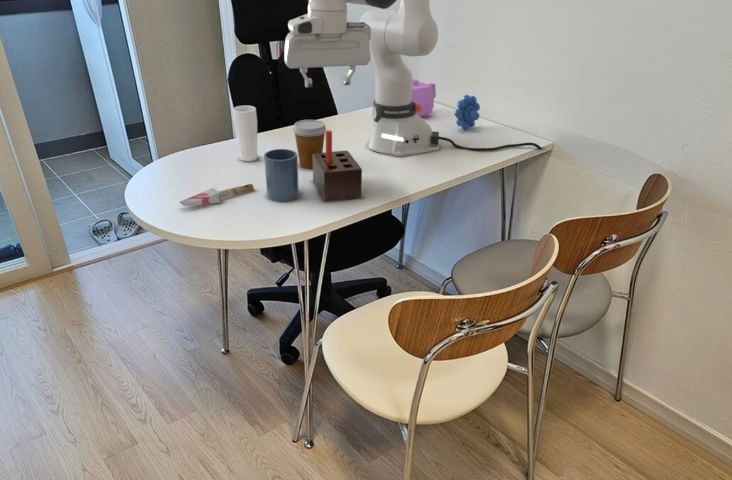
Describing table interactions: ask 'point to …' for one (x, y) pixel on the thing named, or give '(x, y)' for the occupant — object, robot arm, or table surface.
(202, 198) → the grey and wooden tool
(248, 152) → the drinking glass
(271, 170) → the tumbler
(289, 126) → the table surface
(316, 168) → the caddy
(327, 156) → the straw
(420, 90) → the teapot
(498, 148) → the robot arm
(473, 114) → the grapes
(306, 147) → the disposable coffee cup
